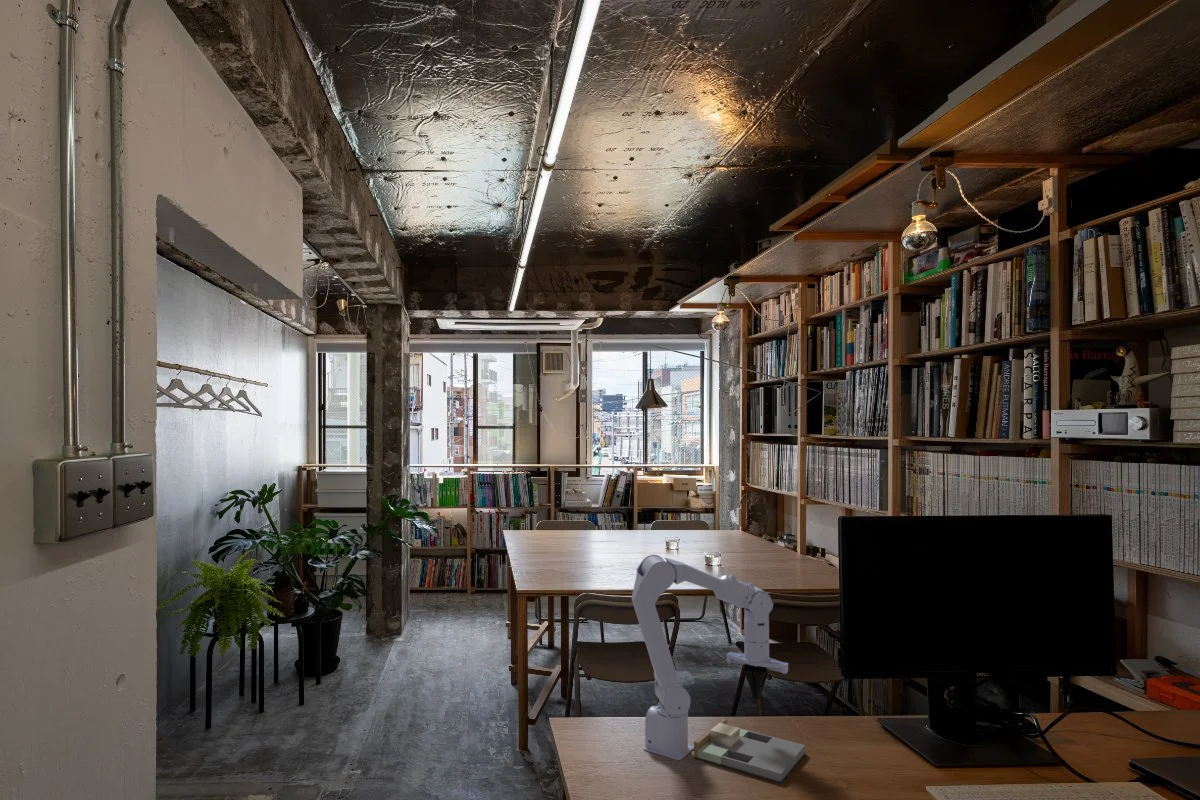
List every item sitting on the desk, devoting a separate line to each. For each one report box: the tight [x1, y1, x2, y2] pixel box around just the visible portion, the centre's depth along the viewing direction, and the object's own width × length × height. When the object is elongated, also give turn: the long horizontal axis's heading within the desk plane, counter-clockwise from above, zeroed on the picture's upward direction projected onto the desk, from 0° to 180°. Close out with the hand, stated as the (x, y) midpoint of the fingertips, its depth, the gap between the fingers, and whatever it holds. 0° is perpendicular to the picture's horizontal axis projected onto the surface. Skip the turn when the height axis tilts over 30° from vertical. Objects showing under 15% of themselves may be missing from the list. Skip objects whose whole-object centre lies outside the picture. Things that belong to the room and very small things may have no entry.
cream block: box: [710, 723, 741, 747], centre depth 161 cm, size 5×5×2 cm
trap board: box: [693, 717, 806, 784], centre depth 158 cm, size 20×16×4 cm
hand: (756, 698), depth 164 cm, fingers closed
